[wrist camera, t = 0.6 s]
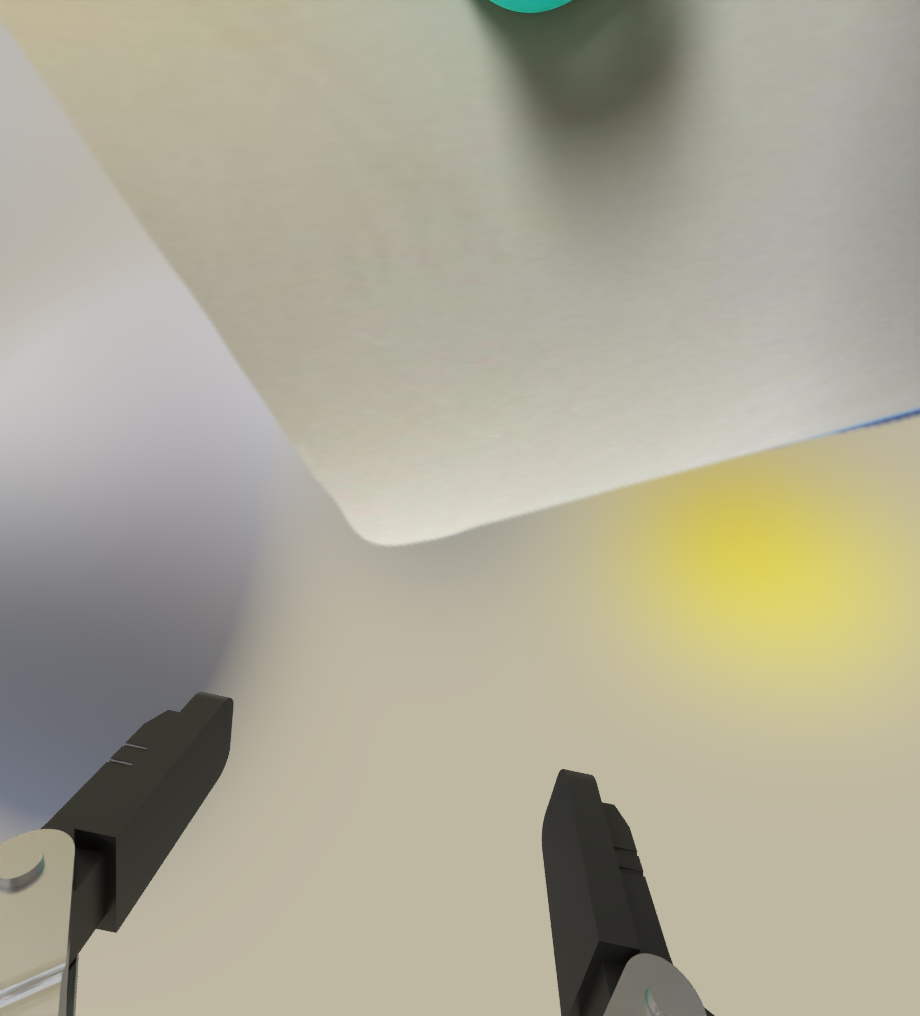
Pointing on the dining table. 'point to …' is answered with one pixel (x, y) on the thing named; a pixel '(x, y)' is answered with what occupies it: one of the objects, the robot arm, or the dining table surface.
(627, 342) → the dining table surface
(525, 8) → the donuts
